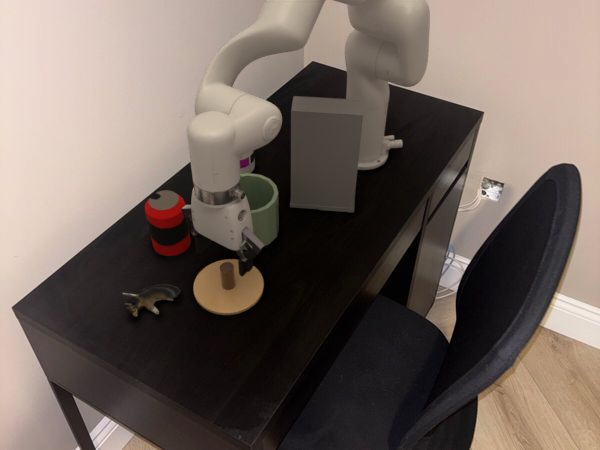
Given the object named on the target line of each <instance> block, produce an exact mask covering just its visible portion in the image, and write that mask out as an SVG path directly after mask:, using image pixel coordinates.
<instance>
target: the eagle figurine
mask: <svg viewBox="0 0 600 450" xmlns="http://www.w3.org/2000/svg"><path fill="white" fill-rule="evenodd" d="M181 292H182V290H181V289H180V288H179V287H177V286H174V285H171V284H155V285H151V286H148V287H145V288H143V289H142V290H141V291H140V292H139V294H138V293H127V292H122V295H123V296H127V297H129V298H132V299H134V300H135V301H136V303H135V304H134V305H133V304H132V303H128V302H125V303H124V304H123V305H124V306H126V310H128V311H129V312H130V313H131V315H132V317H135V318H138V316H139V313H140V312H141V310H142V309H143V308H145V309H146V310H147V311H150V312H151V313H154V314H155V315H160V311H159V309H158V308H157V307H156V306H155V303H157V302H158V301H169V302H170V301H171V302H173V301H174V298H177V297H179V295H180V294H181Z"/></svg>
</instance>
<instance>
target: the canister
mask: <svg viewBox="0 0 600 450" xmlns="http://www.w3.org/2000/svg"><path fill="white" fill-rule="evenodd" d="M240 175H241V189H242V191H244V192H245V193H246V197H247V200H248V203H249V207H250V212H251V217H252V224H253V234H254V235H255V236H256V237H257V238H258V239H259V240H260V241H261V242H262V243H263V244H264V245H265V246H264V247H266V246H268V245H270V244H271V243H272V242H273V241H274V240H275V239H276V238H277V237H278V234H279V230H280V213H279V212H280V210H279V209H280V208H279V205H280V204H279V190H278V187H277V184H275V182H274V181H273V180H272V179H271V178H269V177H267V176H264V175H262V174H259V173H252V172H251V173H245V174H240ZM241 249H242V250H243V251H244V250H245V251H246V250H247V248H246V247H245V245H243V246H242V247H241Z"/></svg>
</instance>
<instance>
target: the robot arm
mask: <svg viewBox="0 0 600 450" xmlns="http://www.w3.org/2000/svg"><path fill="white" fill-rule="evenodd" d="M326 1H327V0H265V1H264V3H263V5H262V7H261V10H260V12H259V14H258V17H257V19H256V20H255V21H254V22H253V24H251V25H250V26H248V27H246V28H244V29H243V30H242V31H240V32H239V33H236V35H235V36H233V37H232V38H231V39H229V41H227V42H226V43H225V44H224V45H223V46H222V47H221V48H219V49H218V50H217V52H216V53H215V54H214V55H213V57H212V58H211V60H210V61H209V64H208V66H207V68H206V70H205V72H204V75H203V77H202V78H201V79H202V80H201V82H200V84H199V87H198V88H197V89H198V90H197V93H196V95H195V99H194V114H195V116H193V117H192V118H191V119H190V121H189V122H188V124H187V127H186V138H187V139H186V140H187V145H188V151H189V152H188V154H189V160H190V169H191V177H192V184H193V188H192V192H191V202H190V203H191V204H185V206H184V207H183V208H181V211H182V213H183V215H184V217H185V218H186V223H187V224H188V226H189V229H190V235H192V236H194V242H195V250H196V251H195V252H196V253H197V254H202V253H203V252H204V251H206V249H208V247H210V245H211V241H213V242H215V243H217V244H218V245H221V246H223V247H224V248H226V249H228V250H231V251H234V252H235V253H236V254H237V255H238V257H239V258H238V259H237V260H238V266H239V274H240V276H242V277H243V276H244V275H245V274H246V273H247V272H249V271H250V270H251V269H252V268H253V266H254V259H255V258H256V257H257V256H258V255H259V254H260V253H261V252H262V250H263V249H264V248H265V247H266V246H265V245H264V244H263V243H262V242H261V241H260V240H259V239H258V238H257V237H256V236H255V235H254V234H253V224H252V217H251V212H250V207H249V203H248V200H247V197H246V193H245V192H244V191H242V189H241V175H240V156H242V155H244V154H246V153H248V152H251V151H253V150H254V151H256V150H258V149H260V148H263V147H265V146H266V145H268V144H270V143H271V142H272V141H273V140H275V138H276V137H277V136H278V134H279V133H280V131H281V129H282V124H283V116H282V113H281V110H280V108H279V107H277V105H275V104H273V102H270V101H268V100H266V99H264V98H262V97H261V98H260V97H258V96H255V95H253V94H251V93H248V92H246V91H243V90H241V89H239V88H236V87H234V84H235V82H236V80H237V78H238V76H239V75H240V74H241V72H242V71H244V69H245V68H246V67H247V66H249V65H250V64H252V63H253V62H255V61H257V60H260V59H261V58H265V57H268V56H272V55H278V54H282V53H283V54H284V53H291V52H295V51H300V50H301V49H303V48H304V47H305V46H306V45H307V44H308V41H309V39H310V36H311V34H312V32H313V29H314V28H315V24H316V23H317V20H318V18H319V16H320V14H321V12H322V9H323V7H324V4H325V2H326ZM333 2H337V3H341V4H344V5H346V7H347V16H348V20H349V23H350V25H351V27H352V28H353V30H352V31H350V33H349V35H348V36H347V37H346V41H345V44H344V61H345V68H346V69H345V70H346V91H345V99H353V100H363V120H362V130H361V140H360V150H359V160H358V170H357V171H370V170H374V169H377V168H380V167H381V166H383V165H384V164H385V163H386V162H387V160H388V158H389V151H390V150H391V149H400V148H402V149H403V145H404V142H403V139H395V135H394V134H392V135H385V131H386V123H387V117H388V108H389V102H390V92H391V91H390V86H389V83H391V84H393V85H397V86H399V87H404V88H411V87H414V86H416V85H418V84H419V83H420V82H421V81H422V79H423V78H424V76H425V73H426V71H427V67H428V62H429V51H430V30H431V28H430V27H431V12H430V7H429V4H428V1H426V0H333ZM243 245H245V247H246V248H247V250H245V251H244V249H241V247H242V246H243Z"/></svg>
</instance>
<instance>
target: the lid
mask: <svg viewBox="0 0 600 450" xmlns="http://www.w3.org/2000/svg"><path fill="white" fill-rule="evenodd" d="M238 260H239V259H236V258H232V259H231V258H229V259H228V258H227V259H221V260H217V261H214V262H212V263H210V264H208V265H207V266H205V267H204V268H202V269H201V270H200V271H199V272H198V273H197V275H196V277H195V279H194V282H193V287H192V288H193V289H192V290H193V295H194V298H195V300H196V302H197V304H199V306H200V307H201V308H202V309H204V310H205V311H207V312H209V313H212V314H215V315H221V316H232V315H238V314H241V313H243V312H246V311H248V310H250V309H251V308H252V307H254V306H255V305H256V304H257V303H258V302H259V301H260V299H261V297H263V294H264V290H265V282H264V281H265V280H264V277H263V275H262V273H261V272H260V270H259V269H258V268H257V267H256V266H254V265H253V268H252V269H251V270H250V271H249V272H247V273H246V274H245V275H244V276H243V277H242V276H240V274H239V266H238Z"/></svg>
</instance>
